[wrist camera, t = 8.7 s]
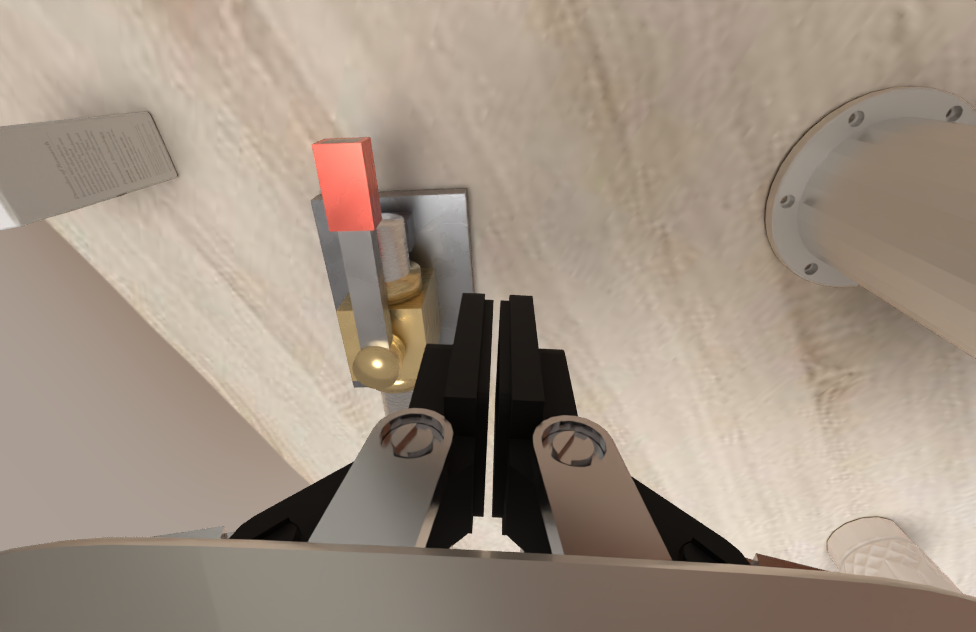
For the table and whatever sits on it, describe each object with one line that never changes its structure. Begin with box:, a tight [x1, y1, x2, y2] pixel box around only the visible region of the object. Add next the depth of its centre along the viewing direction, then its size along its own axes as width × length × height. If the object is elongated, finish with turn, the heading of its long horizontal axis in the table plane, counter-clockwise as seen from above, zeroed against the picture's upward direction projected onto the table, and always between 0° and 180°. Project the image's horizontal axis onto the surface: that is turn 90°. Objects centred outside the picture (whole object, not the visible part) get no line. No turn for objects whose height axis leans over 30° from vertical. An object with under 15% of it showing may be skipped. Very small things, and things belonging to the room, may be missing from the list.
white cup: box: [827, 517, 963, 594], centre depth 43 cm, size 8×8×10 cm
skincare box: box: [0, 112, 177, 230], centre depth 25 cm, size 6×4×12 cm
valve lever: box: [312, 137, 406, 389], centre depth 25 cm, size 13×3×2 cm, turn 2°
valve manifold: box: [311, 188, 474, 416], centre depth 32 cm, size 10×15×8 cm, turn 3°
